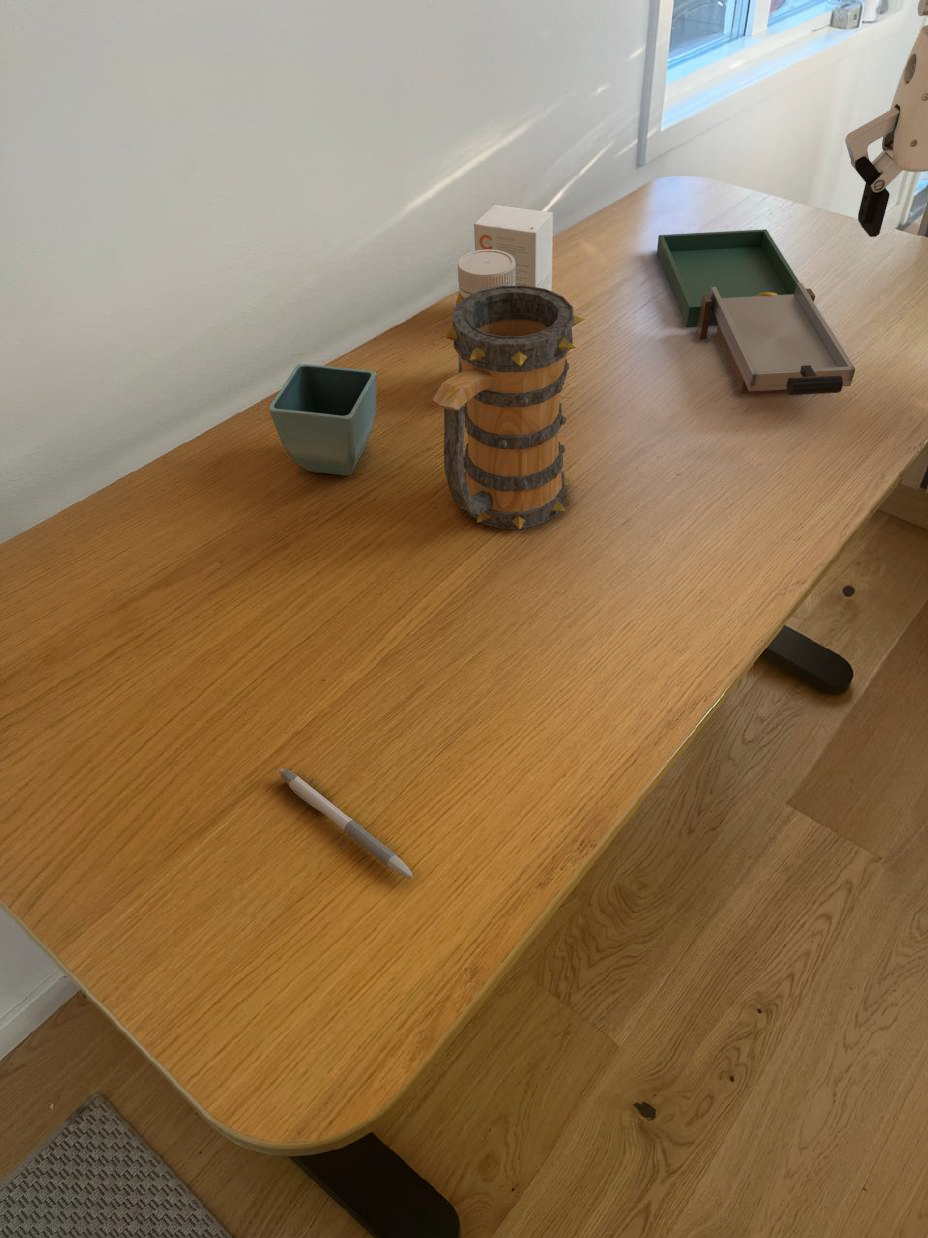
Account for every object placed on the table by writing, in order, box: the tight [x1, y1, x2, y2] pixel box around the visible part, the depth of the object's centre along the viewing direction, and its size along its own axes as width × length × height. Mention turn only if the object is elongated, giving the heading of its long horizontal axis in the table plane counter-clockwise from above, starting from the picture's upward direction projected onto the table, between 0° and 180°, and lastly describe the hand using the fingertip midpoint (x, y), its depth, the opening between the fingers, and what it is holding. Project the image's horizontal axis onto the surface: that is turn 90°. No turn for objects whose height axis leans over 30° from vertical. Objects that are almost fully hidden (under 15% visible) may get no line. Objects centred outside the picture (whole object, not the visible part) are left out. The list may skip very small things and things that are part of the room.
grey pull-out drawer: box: [710, 281, 856, 396], centre depth 103 cm, size 24×11×3 cm, turn 2°
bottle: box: [455, 249, 515, 365], centre depth 102 cm, size 7×7×15 cm
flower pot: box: [268, 363, 377, 477], centre depth 95 cm, size 9×9×9 cm
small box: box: [473, 204, 554, 291], centre depth 114 cm, size 8×6×13 cm
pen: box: [278, 767, 414, 879], centre depth 66 cm, size 1×14×1 cm, turn 49°
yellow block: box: [752, 292, 778, 297], centre depth 115 cm, size 6×2×1 cm
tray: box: [656, 228, 800, 328], centre depth 122 cm, size 21×15×3 cm
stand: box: [696, 288, 816, 394], centre depth 108 cm, size 14×13×5 cm
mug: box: [432, 285, 586, 530], centre depth 85 cm, size 13×17×20 cm
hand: (921, 226), depth 84 cm, fingers open, 9 cm apart
